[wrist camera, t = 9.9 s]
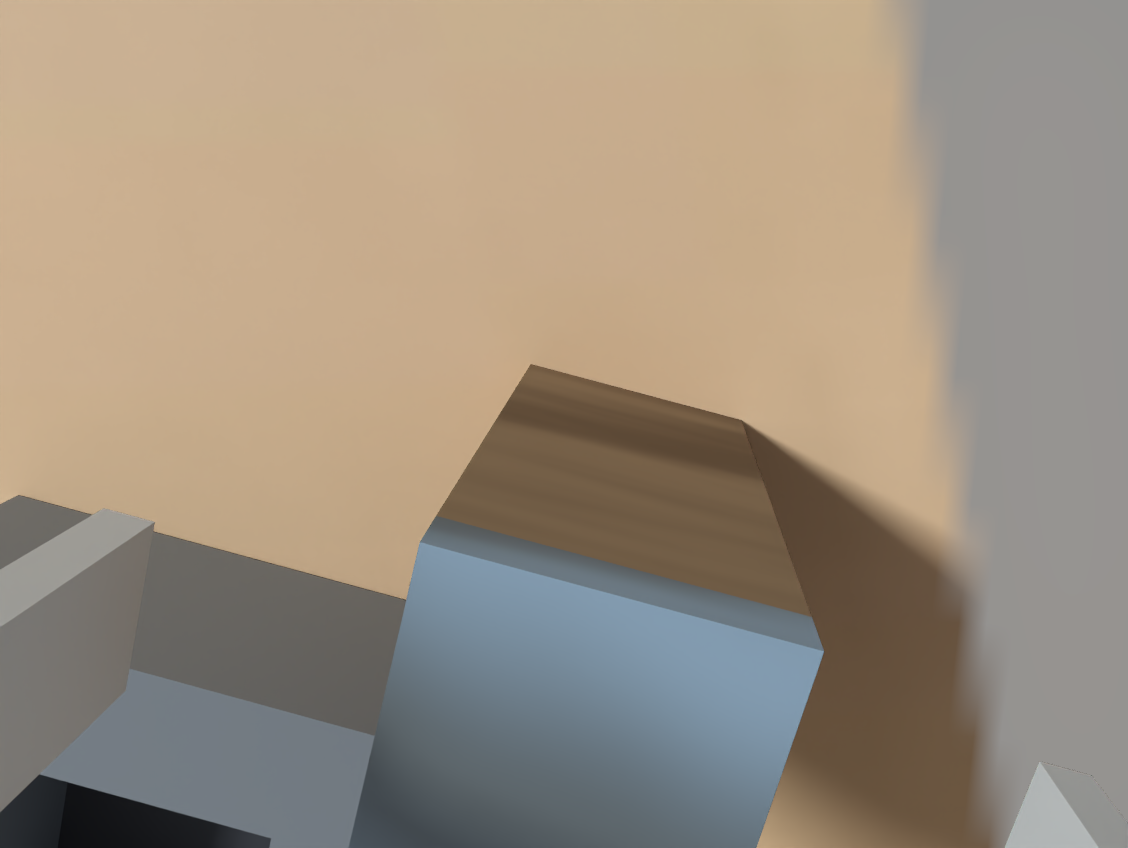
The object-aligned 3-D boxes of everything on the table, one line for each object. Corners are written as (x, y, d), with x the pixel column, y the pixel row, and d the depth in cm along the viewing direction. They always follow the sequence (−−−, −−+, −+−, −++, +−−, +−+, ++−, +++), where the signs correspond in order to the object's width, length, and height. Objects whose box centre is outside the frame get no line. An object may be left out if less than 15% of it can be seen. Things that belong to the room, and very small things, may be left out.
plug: (530, 364, 24) (419, 542, 13) (741, 420, 24) (824, 652, 13) (481, 560, 26) (339, 888, 14) (681, 615, 25) (706, 989, 14)
